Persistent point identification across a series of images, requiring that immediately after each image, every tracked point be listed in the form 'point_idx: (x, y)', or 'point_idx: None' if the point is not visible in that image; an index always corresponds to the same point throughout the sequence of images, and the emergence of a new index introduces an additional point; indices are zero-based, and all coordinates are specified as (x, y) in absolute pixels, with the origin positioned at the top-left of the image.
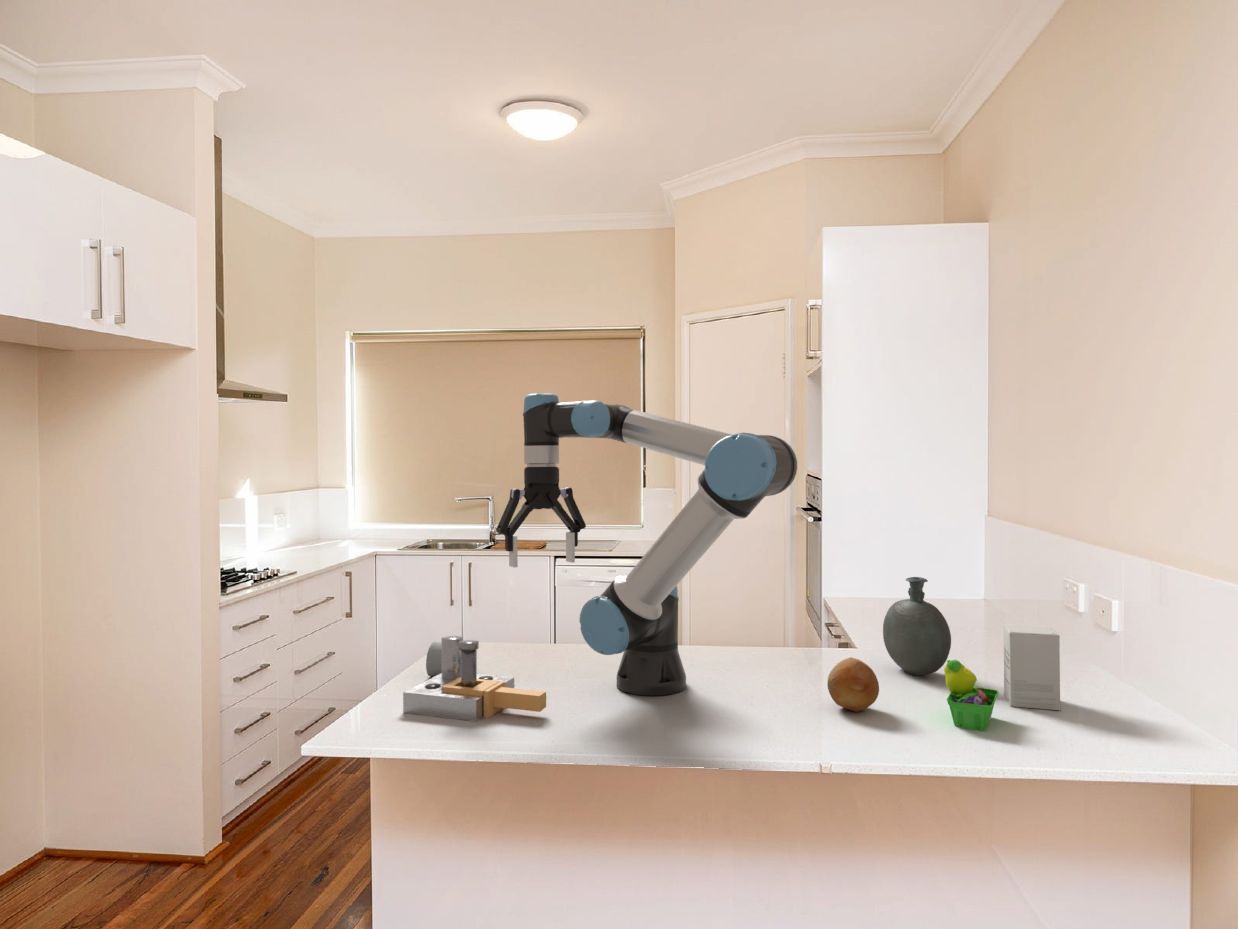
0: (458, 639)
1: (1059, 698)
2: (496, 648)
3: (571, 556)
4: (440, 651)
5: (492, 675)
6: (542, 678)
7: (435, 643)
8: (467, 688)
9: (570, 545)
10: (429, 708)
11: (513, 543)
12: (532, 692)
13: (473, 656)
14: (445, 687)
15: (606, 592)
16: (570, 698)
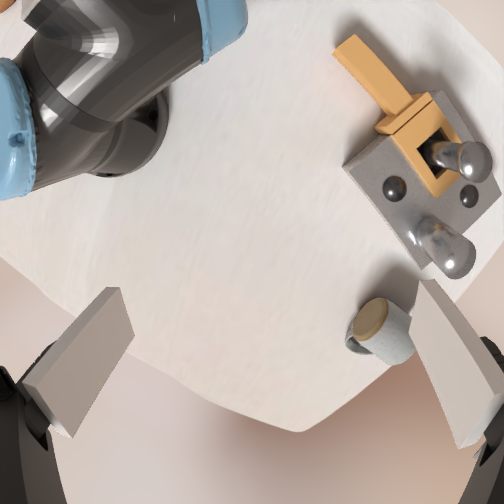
0: (457, 243)
1: None
2: (260, 399)
3: (106, 305)
4: (408, 331)
5: (376, 203)
6: (258, 239)
7: (408, 352)
8: (448, 128)
9: (81, 347)
10: None
11: (489, 362)
12: (359, 55)
13: (460, 144)
14: None
15: None
16: (260, 111)
